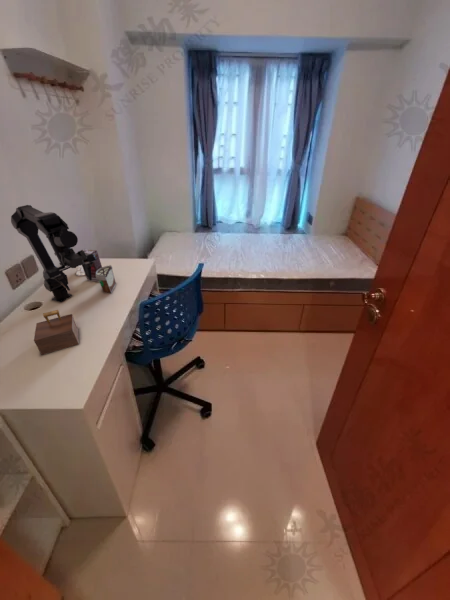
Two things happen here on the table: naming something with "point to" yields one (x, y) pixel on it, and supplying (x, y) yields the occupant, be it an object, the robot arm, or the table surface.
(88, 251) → the supplement box
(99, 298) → the table surface
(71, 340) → the caddy
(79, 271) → the shell
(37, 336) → the brown wooden lid
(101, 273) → the food container
